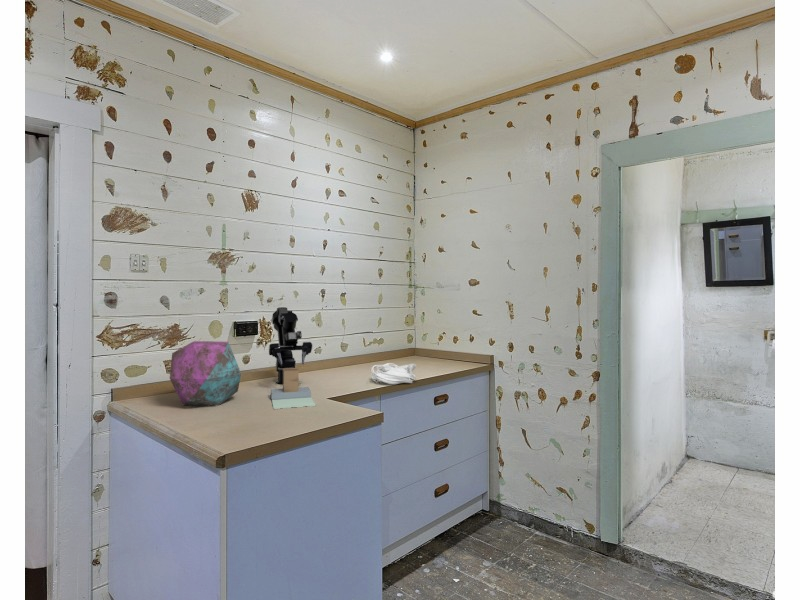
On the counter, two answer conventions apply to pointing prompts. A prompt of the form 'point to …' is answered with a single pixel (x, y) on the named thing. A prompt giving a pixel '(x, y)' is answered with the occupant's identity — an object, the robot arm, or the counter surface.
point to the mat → (292, 403)
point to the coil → (393, 373)
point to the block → (290, 380)
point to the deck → (290, 394)
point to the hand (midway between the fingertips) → (292, 364)
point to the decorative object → (205, 373)
